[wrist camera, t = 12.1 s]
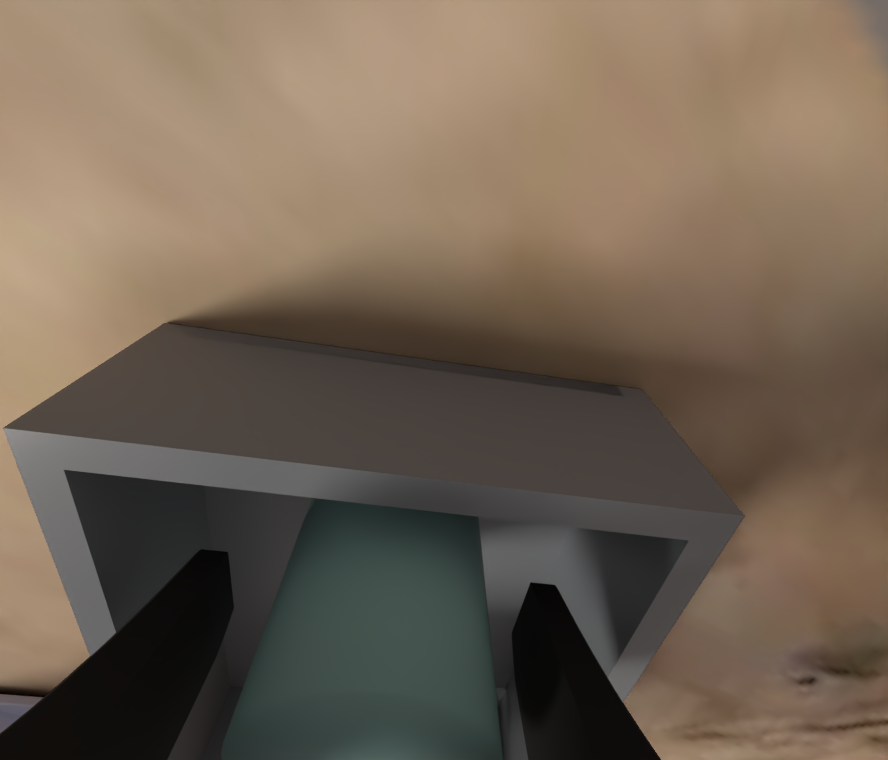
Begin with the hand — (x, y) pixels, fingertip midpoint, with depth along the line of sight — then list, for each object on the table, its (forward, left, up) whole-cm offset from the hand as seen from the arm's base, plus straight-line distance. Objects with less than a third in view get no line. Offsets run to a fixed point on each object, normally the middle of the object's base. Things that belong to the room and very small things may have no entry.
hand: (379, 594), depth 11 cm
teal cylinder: (0, 0, -4) cm, 4 cm away
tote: (-4, 0, -4) cm, 6 cm away
